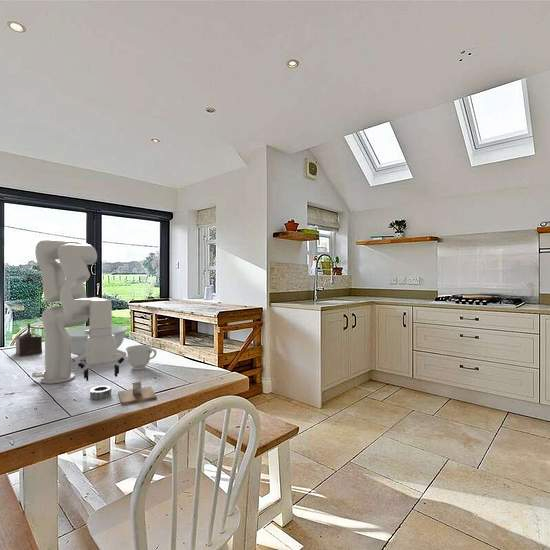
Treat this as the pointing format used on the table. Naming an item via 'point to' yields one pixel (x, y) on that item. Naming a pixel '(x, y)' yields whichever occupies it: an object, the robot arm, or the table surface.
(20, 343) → the dark boxy spouted shape
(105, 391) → the ring
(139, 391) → the brown base with peg
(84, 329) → the bowl
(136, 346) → the teacup
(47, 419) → the table surface
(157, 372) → the table surface
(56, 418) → the table surface
